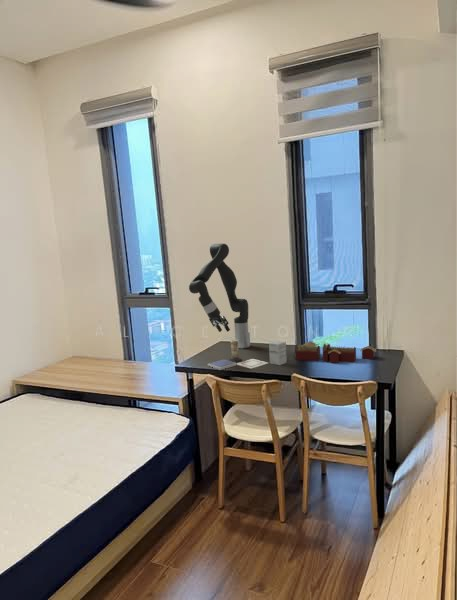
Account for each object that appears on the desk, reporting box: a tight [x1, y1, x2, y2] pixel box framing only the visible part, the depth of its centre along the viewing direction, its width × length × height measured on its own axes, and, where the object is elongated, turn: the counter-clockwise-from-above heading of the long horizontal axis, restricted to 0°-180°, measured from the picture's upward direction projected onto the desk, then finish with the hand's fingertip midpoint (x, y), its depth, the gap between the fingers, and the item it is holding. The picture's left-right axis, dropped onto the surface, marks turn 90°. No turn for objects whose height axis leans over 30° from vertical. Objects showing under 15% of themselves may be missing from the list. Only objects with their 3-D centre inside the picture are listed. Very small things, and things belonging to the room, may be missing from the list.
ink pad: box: [207, 359, 237, 371], centre depth 267 cm, size 12×12×2 cm
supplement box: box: [268, 340, 287, 366], centre depth 264 cm, size 7×7×13 cm
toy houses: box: [294, 340, 377, 364], centre depth 267 cm, size 45×20×10 cm, turn 67°
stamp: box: [228, 339, 242, 363], centre depth 276 cm, size 5×5×12 cm
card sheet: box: [236, 358, 269, 370], centre depth 267 cm, size 14×14×1 cm
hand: (224, 331), depth 277 cm, fingers open, 8 cm apart
